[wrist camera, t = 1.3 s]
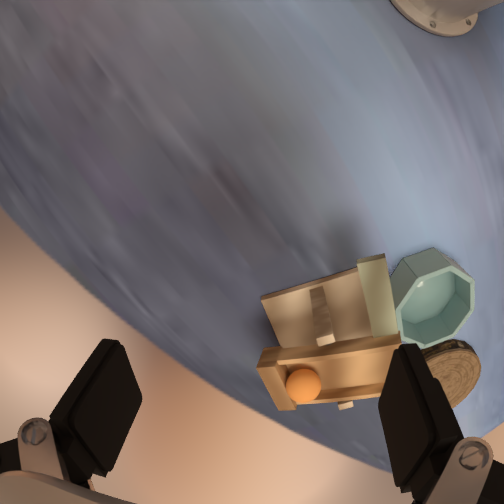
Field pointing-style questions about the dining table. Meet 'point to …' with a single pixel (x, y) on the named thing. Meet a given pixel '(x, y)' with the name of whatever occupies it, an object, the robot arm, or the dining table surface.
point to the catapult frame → (320, 313)
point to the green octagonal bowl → (431, 297)
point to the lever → (342, 350)
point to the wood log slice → (453, 368)
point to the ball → (303, 385)
